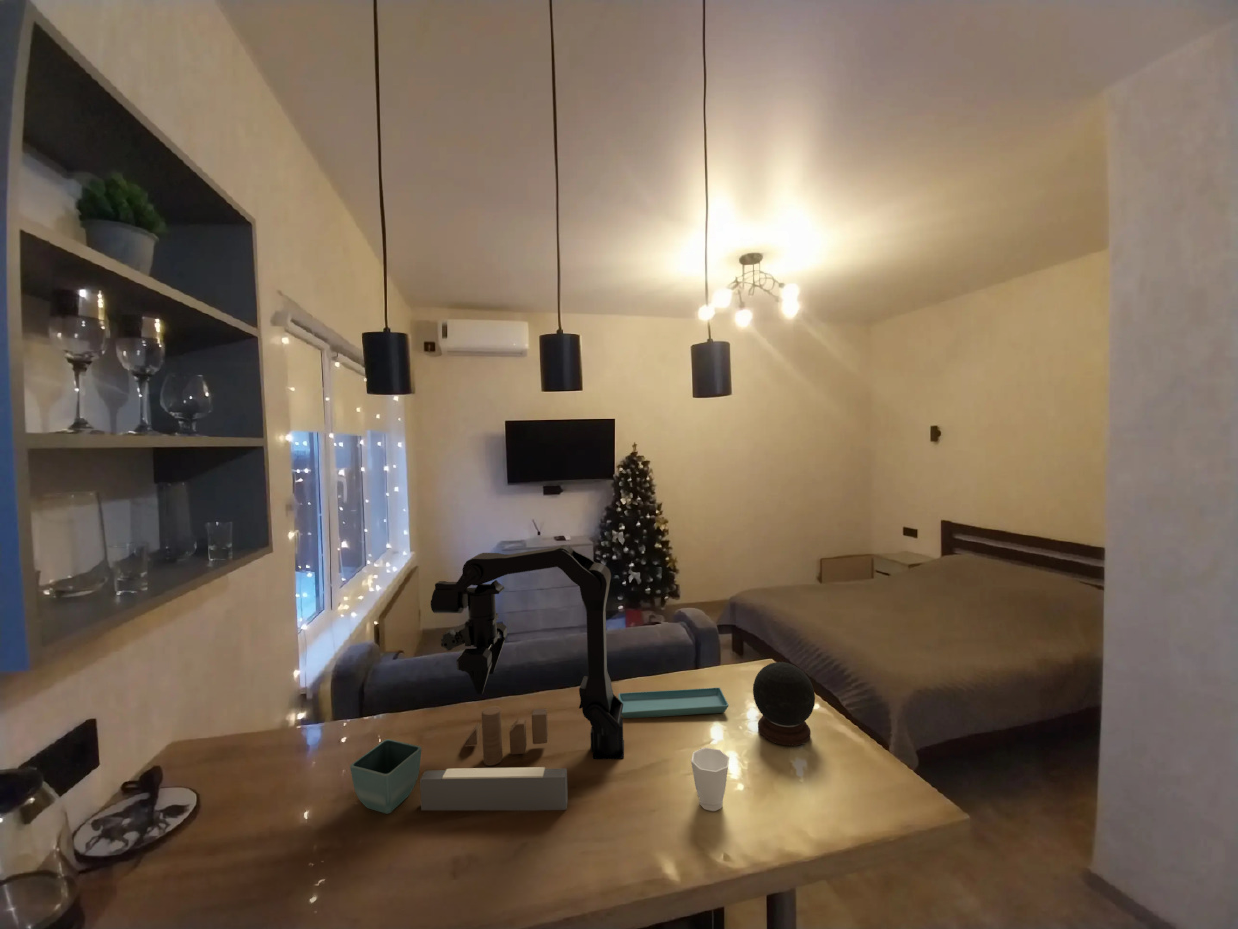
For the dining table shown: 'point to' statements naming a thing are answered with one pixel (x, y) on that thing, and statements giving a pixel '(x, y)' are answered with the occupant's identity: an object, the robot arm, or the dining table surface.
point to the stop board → (494, 789)
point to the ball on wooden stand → (784, 703)
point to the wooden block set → (517, 733)
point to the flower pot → (386, 774)
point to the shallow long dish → (672, 702)
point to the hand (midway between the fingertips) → (485, 683)
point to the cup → (710, 776)
